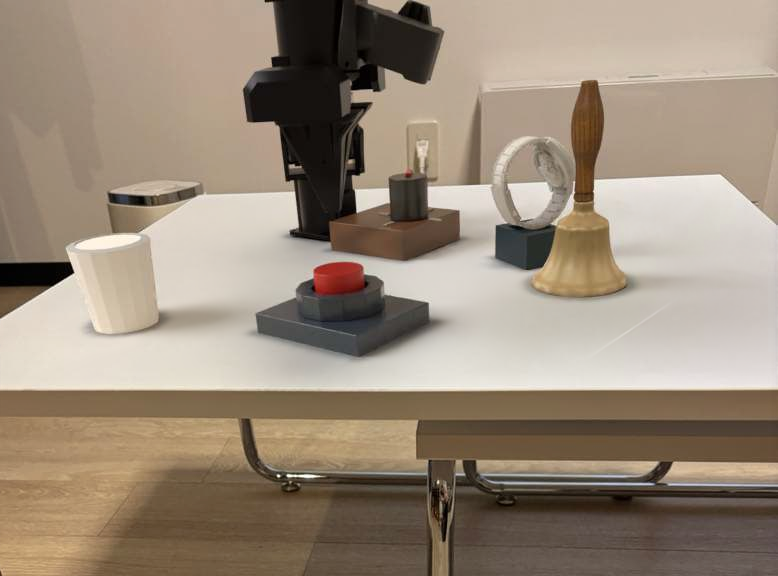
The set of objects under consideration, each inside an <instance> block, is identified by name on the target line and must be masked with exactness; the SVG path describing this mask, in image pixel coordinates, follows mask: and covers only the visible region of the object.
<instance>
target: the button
mask: <svg viewBox="0 0 778 576" xmlns="http://www.w3.org/2000/svg"><path fill="white" fill-rule="evenodd" d="M312 274H313V278H314V285H315V292H316V293H322V294H345V293H351V292H357V291H359V290H362V289H364V288H365V282H364V274H365V270H364V266H363V264H362V263H358V262H353V261H335V262H328V263H324V264H321V265H318V266H316V267H315V268H314V269H313V270H312Z"/></svg>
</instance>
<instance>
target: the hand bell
mask: <svg viewBox="0 0 778 576" xmlns="http://www.w3.org/2000/svg"><path fill="white" fill-rule="evenodd" d="M604 128H605V112H604V105H603V100H602V98H601V92H600V87H599V82H598V80H597V79H589V80H587V79H586V80H582V81H581V83H580V87H579V92H578V95H577V98H576V101H575V104H574V107H573V109H572V115H571V124H570V142H571V149H572V154H573V159H574V163H575V166H576V175H575V181H574V186H573V200H574V201H573V207H572V211H571V212H570V213H569V214H566V216H564V217H561V218H560V219H559V220H557V222H556V225H555V226H556V230H555V236H554V241H553V245H552V249H551V252H550V255H549V257H548V259H547V261H546V263H545V264H544V266H542V267H541V269H539V271H537V272H536V273H535V274H534V275H533V278H532V280H531V286H532V287H533V288H534V289H535V290H536V291H538V292H540V293H543V294H546V295H551V296H555V297H556V296H557V297H563V298H590V297H591V298H592V297H599V296H606V295H610V294H613V293H616V292H619V291H620V290H622V289H624V288H625V287H626V286H627V284H628V279H627V277H626V274H625V273H624V271H623V270H622V269H620V268H619V266H618V264H617V263H616V261H615V258H614V255H613V250H612V246H611V235H610V222H609V219H608V218H607V217H605V216H603V215H601V214H599V213H598V212H596V210H595V192H594V191H595V169H596V162H597V159H598V156H599V153H600V150H601V147H602V142H603V138H604V137H603V136H604V130H605V129H604Z"/></svg>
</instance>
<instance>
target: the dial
mask: <svg viewBox="0 0 778 576" xmlns="http://www.w3.org/2000/svg"><path fill="white" fill-rule="evenodd" d="M428 183H429V182H428V174H426V173H424V172H414V170H413V169H407V170H406V171H405V172H402V173H397V174H392V175H389V176H388V196H389V203H390V218H391V219H392V220H396V221H416V220H421V219H424V218H427V217H428V207H429V190H428V187H429V186H428Z"/></svg>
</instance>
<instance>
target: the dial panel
mask: <svg viewBox="0 0 778 576" xmlns="http://www.w3.org/2000/svg"><path fill="white" fill-rule="evenodd" d="M329 227H330V239H331V240H330V249H331V251H332V252H340V253H347V254H354V255H360V256H367V257H374V258H381V259H387V260H394V261H401V262H406V261H408V260H411V259H413V258H416V257H418V256H421V255H424V254H426V253H428V252H431V251H433V250H436V249H438V248H441V247H443V246H446V245H448V244H451V243H453V242H456V241H458V240H460V239H461V212H460V209H452V208H451V209H450V208H441V207H432V206H428V217H427V218H424V219H421V220H416V221H396V220H392V219H391V218H390V202H386V203H383V204H380V205H377V206H374V207H370V208H367V209H364V210H361V211H359V212H358V211H357V213H355V214H352V215H349V216H346V217H343V218H339V219H336V220H333V221H330V222H329Z"/></svg>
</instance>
